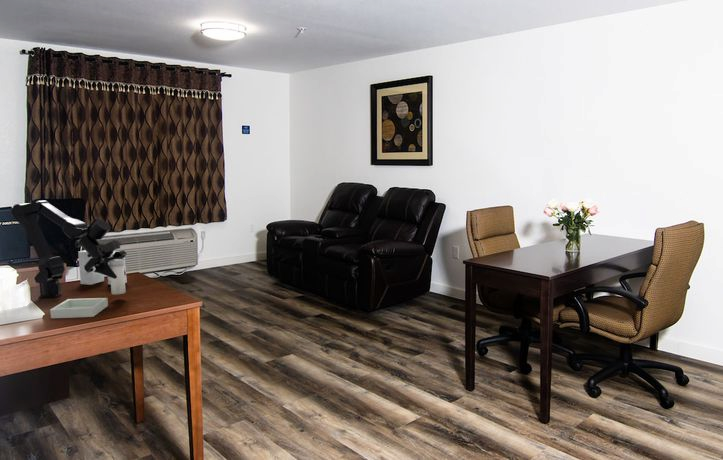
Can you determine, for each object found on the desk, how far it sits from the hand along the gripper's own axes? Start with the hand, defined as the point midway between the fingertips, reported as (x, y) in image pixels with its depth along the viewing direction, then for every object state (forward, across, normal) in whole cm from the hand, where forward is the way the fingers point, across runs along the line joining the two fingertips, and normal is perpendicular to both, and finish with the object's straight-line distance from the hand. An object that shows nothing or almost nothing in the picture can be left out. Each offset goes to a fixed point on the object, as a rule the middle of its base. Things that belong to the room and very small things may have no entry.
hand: (120, 276), depth 204 cm
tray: (+4, -18, +10) cm, 20 cm away
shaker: (+4, 0, +6) cm, 7 cm away
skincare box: (-16, +24, +30) cm, 41 cm away
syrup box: (-7, +24, +21) cm, 32 cm away
